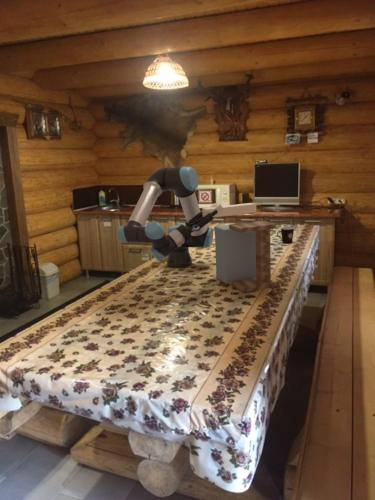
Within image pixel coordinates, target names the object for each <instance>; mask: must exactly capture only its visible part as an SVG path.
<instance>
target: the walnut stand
mask: <svg viewBox="0 0 375 500" xmlns="http://www.w3.org/2000/svg"><path fill="white" fill-rule="evenodd" d="M228 225H229V229H231V230H234V231H237V232H240V233H244V232H252V231H256V277H254V278H248V279H242V280H236V281H231V283H230V285H231V287H233V288H234V289H235V290H238V291H240V292H241V293H247V292H253V291H259V290H265V289H269V288H276V287H277V282H276V281H274V280H273V279H271V278H272V277H271V276H272V274H271V272H272V271H271V269H272V268H271V267H272V266H271V262H272V261H271V230H273V229H277V224H276V223H274V222H270V221H266V220H256V221H249V222H247V221H246V222H240V223H230V224H228Z"/></svg>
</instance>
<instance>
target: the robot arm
mask: <svg viewBox="0 0 375 500" xmlns="http://www.w3.org/2000/svg"><path fill="white" fill-rule="evenodd" d="M198 187H199V176H198V173H197V171H196V169H195V168H194V167H192V166H184V165H183V166H174V167H173V166H170V167H167V166H166V167H165V166H164V167H161V168H158V169H157V170H155V171H154V172H152V174H150V175H149V177H147V179H146V181H145V182H144V184H143V187H142V188H143V191H142V193H141V194H140V197H139V198H138V201H137V203H136V205H135V207H134V209H133V211H132V212H131V215H130V217H129V219H128V221H127V223H126V225H121V226H119V227H118V228H117V231H116V237H117V240H118V241H119V242H120V243H123V244H124V243H126V244H151V245H152V246H151V247H149V251H150V253H151V254H152V256H153V257H154V259H156V260H157V261H158V262H160V261H162V260H164V259H165V258H166V257H167V258H166V266H167V267H169V266H170V267H169V268H176V267H178V268H185V267H189V266H192V265H193V259H192V255H191V253H190V251H189V250H190V249H189V248H195V249H208V248H210V247H211V246H212V244H213V237H214V229H213V227H210V226H208V224H209V223H211V221H213V220H214V218H215V217H214V216H215V215H216V214H218V213H219V212H220V211H221V210H223V207H222V206H223V205H222V204H218V205H217V203H216V202H214V203H213V204H211V205H210V206H209V207H208V208H210V207H215V208H214V209H213V210H212V211H210V212H209V214H207V215H206V216H204V217H203V213H202V211H201V209H200V205H199V203H198V200H197V196H196V192H197V189H198ZM171 191H173V194H174V196H175V197H176V198H177V199H178V200H179V202H180V205H181V208H182V211H183V214H184V217H185V220H186V222H185V223H183V224H182V223H181V224H176V225H173V226H172V225H170V226H169V227H168V228H167V234H166V232H165V229H164V228H163V226H162V225H161V223H159V222H157V221H151V222H148V223H147V221H148V218H149V217H150V214H151V212H152V210H153V209H154V205H155V203H156V201H157V199H158V197H160V196H161V195H162V194H163V192H171ZM146 223H147V224H146Z"/></svg>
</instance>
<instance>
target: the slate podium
mask: <svg viewBox="0 0 375 500" xmlns="http://www.w3.org/2000/svg"><path fill="white" fill-rule="evenodd" d="M229 225H230V224H224V225H215V226H214V242H215V243H214V246H215V247H214V250H215V273H216V279H218V280H219V281H221V282H222V283H224V284H226V285H227V284H231V281H236V280H242V279H248V278H254V277H256V231H252V232H244V233H240V232H237V231H234V230H231V229H229Z"/></svg>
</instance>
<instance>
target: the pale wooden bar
mask: <svg viewBox="0 0 375 500" xmlns="http://www.w3.org/2000/svg"><path fill="white" fill-rule="evenodd" d="M221 206H222V207H223V210H221V211H220V212H219V213H218V214H216V215H215V216H214V217H213V218H221V217H228V216H235V215H245V214H252V213H253V214H254V213H257V203H253V202H247V203H246V202H245V203H239V204H229V205H221ZM209 207H210V206H209ZM209 207H203V208H202V210H201V212H202V213H203V217H204V216H206V215H207V214H209V212H210V211H212V210H213V209H214V208H215V207H210V208H209Z"/></svg>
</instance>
